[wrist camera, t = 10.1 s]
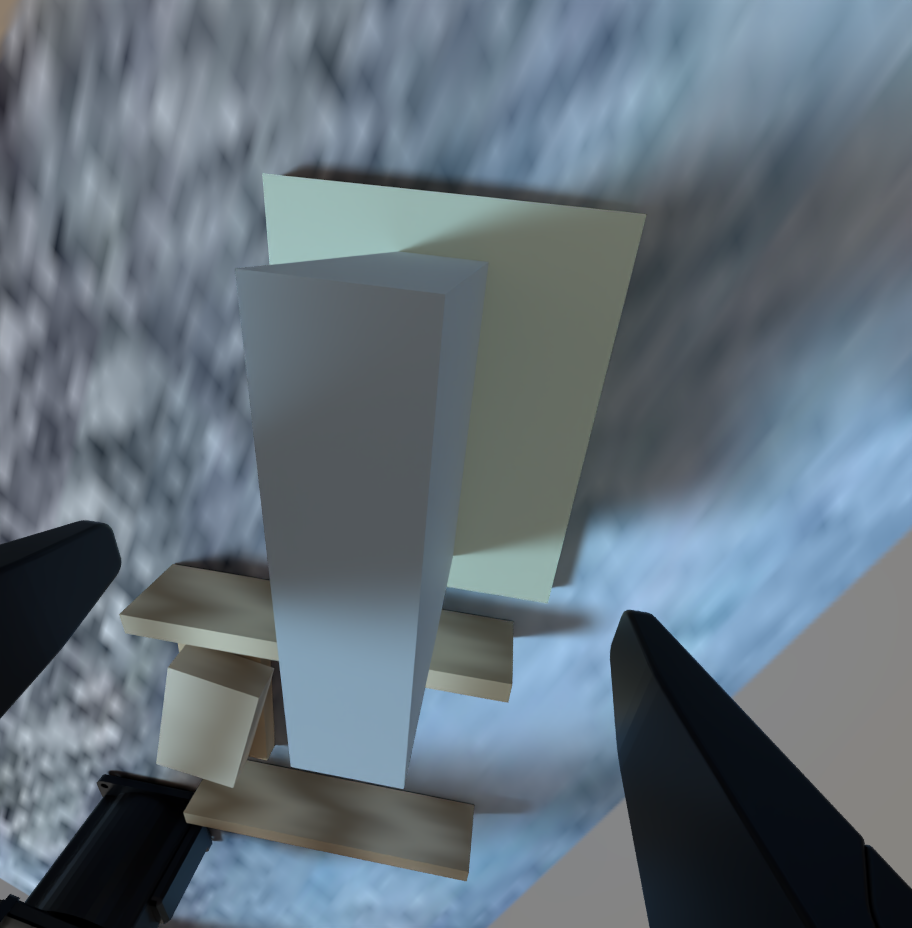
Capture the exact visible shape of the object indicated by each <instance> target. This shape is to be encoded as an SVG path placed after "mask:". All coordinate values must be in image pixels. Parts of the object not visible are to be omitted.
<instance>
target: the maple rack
mask: <svg viewBox="0 0 912 928" xmlns="http://www.w3.org/2000/svg"><path fill="white" fill-rule="evenodd" d="M119 615H120V618H121V621H122V624H123V628H124V631H125V633H127V634H132V635H138V636H143V637H149V638H154V639H160V640H165V641H171V642H176V643H182V644H187V645H193V646H198V647H204V648H209V649H215V650H221V651H226V652H232V653H237V654H243V655H248V656H254V657H259V658H265V659H270V660H276V661H279V657H278V648H277V639H276V630H275V621H274V612H273V603H272V594H271V586H270V580H264V579H258V578H252V577H246V576H240V575H235V574H229V573H223V572H217V571H211V570H205V569H199V568H193V567H187V566H181V565H175V564H172V565H171V566H170V567H169V568H168V569H167V570H166V571H165V572H164V573H163V574H162V575H161V576H160V577H159V578H158V579H156V580H155V581H154V582H153V583H152V584H151V585H150V586H149V587H148V588H147V589H146V590H145V591H144V592H143V593H142V594H140V595H139V596H138V597H137V598H136V599H135V600H134V601H133V602H132V603H131V604H130V605H129V606H128V607H127V608H126V609H124V610H123V611H122V612H121V613H120V614H119ZM512 675H513V621H507V620H501V619H495V618H489V617H483V616H477V615H471V614H465V613H459V612H453V611H448V610H442V611H441V616H440V620H439V625H438V630H437V634H436V639H435V644H434V649H433V653H432V658H431V663H430V668H429V672H428V677H427V682H426V686H425V688H430V689H436V690H441V691H447V692H452V693H458V694H463V695H469V696H474V697H480V698H485V699H491V700H496V701H502V702H507V703H508V701H509V697H510V692H511V688H512ZM183 813H184V816H185V820H186V823H190V824H195V825H200V826H205V827H209V828H214V829H219V830H224V831H228V832H233V833H238V834H243V835H248V836H252V837H257V838H262V839H267V840H271V841H276V842H281V843H286V844H291V845H295V846H300V847H305V848H310V849H314V850H319V851H324V852H329V853H334V854H338V855H343V856H348V857H353V858H357V859H362V860H367V861H372V862H377V863H381V864H386V865H391V866H396V867H400V868H405V869H410V870H415V871H419V872H424V873H429V874H434V875H439V876H443V877H448V878H453V879H458V880H462V881H467V877H468V873H469V863H470V850H471V838H472V826H473V814H474V805H471V804H466V803H461V802H456V801H451V800H446V799H441V798H436V797H431V796H426V795H421V794H416V793H411V792H406V791H400V790H395V789H390V788H385V787H380V786H375V785H370V784H365V783H360V782H355V781H350V780H345V779H340V778H335V777H330V776H325V775H320V774H314V773H309V772H304V771H299V770H294V769H289V768H284V767H279V766H274V765H269V764H264V763H259V762H254V761H249V760H247V761H246V763H245V765H244V767H243V769H242V771H241V773H240V775H239V777H238V779H237V781H236V783H235V785H234V787H233V788H231V787H228V786H225V785H221V784H218V783H215V782H212V781H209V780H206V779H203V780H202V781H201V783H200V785H199V787H198V788H197V790H196V792H195V793H194V795H193V797H192V799H191V800H190V802H189V804H188V805H187V807H186V809H185V810H184V812H183Z"/></svg>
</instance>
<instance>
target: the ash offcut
mask: <svg viewBox="0 0 912 928" xmlns="http://www.w3.org/2000/svg"><path fill="white" fill-rule="evenodd" d="M274 669H275V668H272V667H269V666H266V665H263V664H260V663H257V662H255V661H252V660H249V659H246V658H243V657H240V656H237V655H234V654H231V653H228V652H225V651H221V650H215V649H209V648H204V647H198V646H193V645H187V644H186V645H185V646H184V647H183V649H182V650H181V651H180V653H179V654H178V655H177V656H176V658H175V659H174V660H173V662H172V663H171V664H170V666H169V667H168V671H167V679H166V688H165V696H164V704H163V713H162V721H161V729H160V737H159V746H158V754H157V762H156V764H158V765H161V766H164V767H168V768H171V769H174V770H177V771H180V772H183V773H187V774H190V775H193V776H196V777H199V778H202V779H206V780H209V781H212V782H215V783H218V784H221V785H225V786H228V787H231V788H233V787H234V785H235V783H236V781H237V779H238V777H239V775H240V773H241V771H242V769H243V767H244V765H245V763H246V761H247V759H248V756H249V753H250V749H251V746H252V743H253V739H254V736H255V733H256V729H257V726H258V723H259V719H260V716H261V712H262V709H263V706H264V702H265V699H266V696H267V692H268V689H269V686H270V682H271V679H272V675H273V672H274Z"/></svg>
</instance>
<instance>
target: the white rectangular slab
mask: <svg viewBox="0 0 912 928" xmlns="http://www.w3.org/2000/svg"><path fill="white" fill-rule="evenodd" d="M488 264H489V262H486V261H477V260H468V259H460V258H451V257H442V256H434V255H425V254H417V253H408V252H399V251H397V252H387V253H378V254H368V255H359V256H349V257H340V258H331V259H321V260H312V261H302V262H293V263H283V264H274V265H264V266H255V267H245V268H236V269H235V274H236V283H237V292H238V301H239V310H240V319H241V328H242V337H243V345H244V354H245V363H246V372H247V381H248V390H249V399H250V408H251V417H252V425H253V434H254V443H255V452H256V461H257V470H258V479H259V488H260V497H261V506H262V514H263V523H264V532H265V541H266V550H267V559H268V568H269V577H270V586H271V594H272V603H273V612H274V621H275V630H276V639H277V648H278V657H279V666H280V674H281V683H282V692H283V701H284V710H285V719H286V728H287V737H288V746H289V755H290V763H291V767H294V768H299V769H304V770H309V771H314V772H320V773H325V774H330V775H335V776H340V777H345V778H350V779H355V780H360V781H365V782H370V783H375V784H380V785H385V786H390V787H395V788H400V789H404V786H405V781H406V776H407V771H408V767H409V762H410V757H411V753H412V748H413V743H414V738H415V734H416V729H417V724H418V720H419V715H420V710H421V705H422V701H423V696H424V691H425V686H426V682H427V677H428V672H429V668H430V663H431V658H432V653H433V649H434V644H435V639H436V634H437V630H438V625H439V620H440V616H441V611H442V606H443V601H444V597H445V592H446V587H447V583H448V578H449V573H450V568H451V564H452V559H453V553H454V545H455V536H456V528H457V520H458V512H459V503H460V495H461V487H462V479H463V470H464V462H465V454H466V446H467V437H468V429H469V421H470V413H471V404H472V396H473V388H474V380H475V372H476V363H477V355H478V347H479V339H480V330H481V322H482V314H483V306H484V297H485V289H486V281H487V273H488Z"/></svg>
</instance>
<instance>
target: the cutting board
mask: <svg viewBox="0 0 912 928" xmlns="http://www.w3.org/2000/svg"><path fill="white" fill-rule="evenodd" d="M262 175H263V187H264V200H265V212H266V225H267V237H268V249H269V262H270V265H274V264H283V263H293V262H302V261H312V260H321V259H331V258H340V257H349V256H359V255H368V254H378V253H387V252H397V251H399V252H408V253H417V254H425V255H434V256H442V257H451V258H460V259H468V260H477V261H486V262H489V264H488V273H487V281H486V289H485V297H484V306H483V314H482V322H481V330H480V339H479V347H478V355H477V363H476V372H475V380H474V388H473V396H472V404H471V413H470V421H469V429H468V437H467V446H466V454H465V462H464V470H463V479H462V487H461V495H460V503H459V512H458V520H457V528H456V536H455V545H454V553H453V559H452V564H451V568H450V573H449V578H448V583H447V587H451V588H457V589H463V590H469V591H475V592H481V593H487V594H494V595H500V596H506V597H512V598H518V599H524V600H530V601H536V602H542V603H548V600H549V596H550V592H551V588H552V584H553V581H554V577H555V573H556V569H557V565H558V561H559V557H560V553H561V549H562V545H563V541H564V537H565V533H566V530H567V526H568V522H569V518H570V514H571V510H572V506H573V502H574V498H575V494H576V490H577V486H578V482H579V478H580V475H581V471H582V467H583V463H584V459H585V455H586V451H587V447H588V443H589V439H590V435H591V431H592V427H593V423H594V420H595V416H596V412H597V408H598V404H599V400H600V396H601V392H602V388H603V384H604V380H605V376H606V372H607V368H608V365H609V361H610V357H611V353H612V349H613V345H614V341H615V337H616V333H617V329H618V325H619V321H620V317H621V314H622V310H623V306H624V302H625V298H626V294H627V290H628V286H629V282H630V278H631V274H632V270H633V266H634V262H635V259H636V255H637V251H638V247H639V243H640V239H641V235H642V231H643V227H644V223H645V219H646V215H647V214H641V213H632V212H622V211H613V210H603V209H594V208H584V207H575V206H565V205H556V204H547V203H537V202H528V201H518V200H509V199H499V198H490V197H480V196H471V195H461V194H452V193H442V192H433V191H423V190H414V189H405V188H395V187H386V186H376V185H367V184H357V183H348V182H338V181H329V180H319V179H310V178H300V177H291V176H281V175H272V174H263V173H262Z"/></svg>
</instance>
